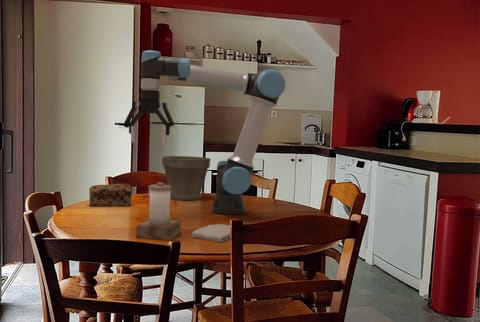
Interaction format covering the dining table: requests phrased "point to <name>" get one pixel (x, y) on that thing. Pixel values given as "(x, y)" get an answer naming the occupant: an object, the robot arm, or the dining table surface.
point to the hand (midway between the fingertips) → (148, 142)
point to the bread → (110, 195)
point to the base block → (158, 230)
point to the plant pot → (185, 175)
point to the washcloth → (213, 233)
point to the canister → (159, 204)
